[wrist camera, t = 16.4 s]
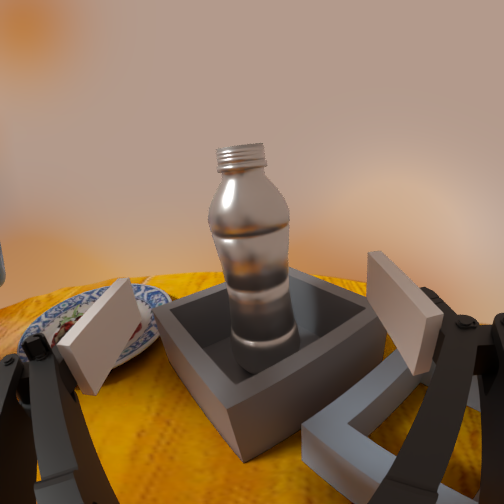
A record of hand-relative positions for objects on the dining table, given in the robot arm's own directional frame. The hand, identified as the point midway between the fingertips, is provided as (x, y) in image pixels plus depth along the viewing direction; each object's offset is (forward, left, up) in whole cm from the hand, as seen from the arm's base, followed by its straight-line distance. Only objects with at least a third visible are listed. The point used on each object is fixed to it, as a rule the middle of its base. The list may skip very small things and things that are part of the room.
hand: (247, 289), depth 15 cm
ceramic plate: (-28, -11, -14) cm, 33 cm away
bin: (-7, +5, -14) cm, 16 cm away
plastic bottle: (-7, +5, -13) cm, 15 cm away
